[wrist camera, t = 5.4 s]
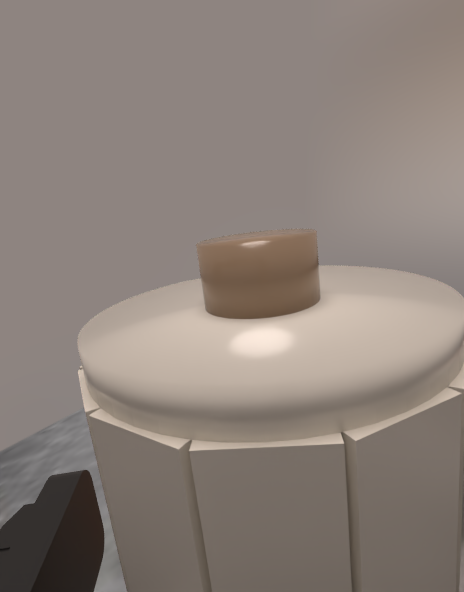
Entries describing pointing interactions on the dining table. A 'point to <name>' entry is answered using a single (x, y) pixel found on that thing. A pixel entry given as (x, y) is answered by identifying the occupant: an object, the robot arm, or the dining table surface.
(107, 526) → the dining table surface
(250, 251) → the ribbed lidded canister
